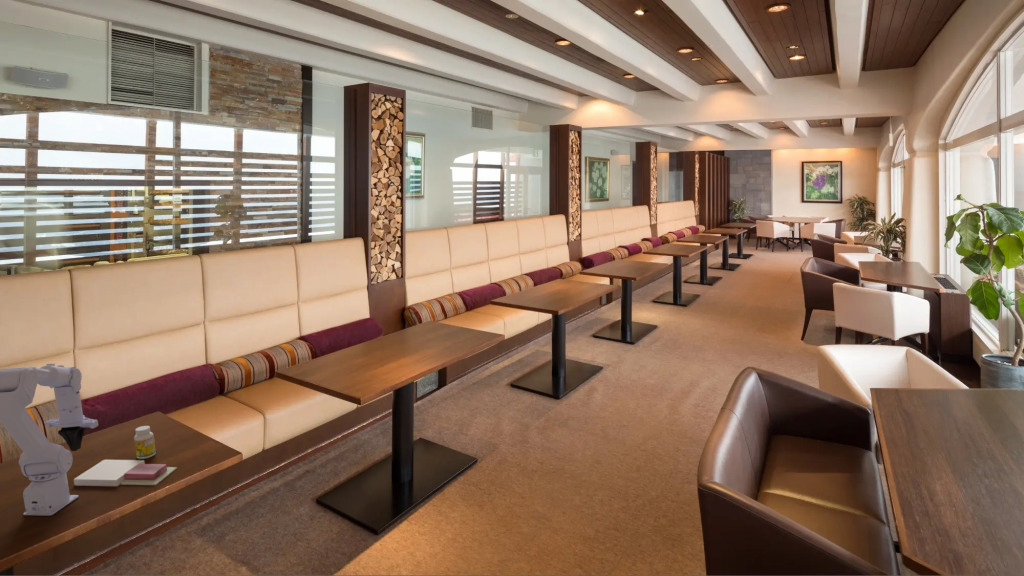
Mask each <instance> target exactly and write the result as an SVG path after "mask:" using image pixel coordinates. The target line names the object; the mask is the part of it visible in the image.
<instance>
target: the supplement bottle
mask: <svg viewBox="0 0 1024 576" xmlns="http://www.w3.org/2000/svg"><path fill="white" fill-rule="evenodd" d="M134 431H135V435H134V437H133V441H134V442H133V443H134V448H135V455H136V456H135V457H136V458H137V459H138V460H144V459H149V458H151V457H153V456H155V455H156V454H157V453H156V444H155V443H156V441H155V436H154V433H153V432H152V431H151V426H150V425H141V426H138V427H137V428H135V430H134Z"/></svg>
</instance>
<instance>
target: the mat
mask: <svg viewBox="0 0 1024 576" xmlns="http://www.w3.org/2000/svg"><path fill="white" fill-rule="evenodd" d="M177 469H178V467H177V466H175V467H174V466H167V471H166V472H164V473H163V474H162V475H160V476H159V477H158V478H157V479H155V480H124V481H123V482H122V483H120V486H121V485H125V486H126V485H127V486H157V485H158V484H159V483H160V482H162V481H163V480H164V479H165V478H167V477H168V476H169V475H171V474H172V473H173V472H175V470H177Z"/></svg>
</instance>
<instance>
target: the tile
mask: <svg viewBox="0 0 1024 576" xmlns="http://www.w3.org/2000/svg"><path fill="white" fill-rule="evenodd" d="M167 467H168V466H167V464H166V463H164V464H163V463H145V464H137V465H136V466H134V467H133V468H131V469H130V470H129V471H127V472H126V473H124V476H125V480H155V479H157V478H158V477H159V476H160V475H162V474H163V473H164V472H166V471H167Z"/></svg>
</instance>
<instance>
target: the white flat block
mask: <svg viewBox="0 0 1024 576" xmlns="http://www.w3.org/2000/svg"><path fill="white" fill-rule="evenodd" d="M137 464H146V462H145V460H144V459H103V460H101V461H100V462H98V463H97V464H95V465H94V466H92V467H90V468H89V469H87V470H86V471H84V472H83V473H81V474H80V475H78V476H76V477H74V478H73V485H74V486H80V487H81V486H82V487H83V486H85V487H89V486H90V487H118V486H121V484H120V483H122V482H123V481H124V480H125V476H124V473H126V472H127V471H129V470H130V469H131V468H133V467H134V466H136V465H137Z"/></svg>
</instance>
